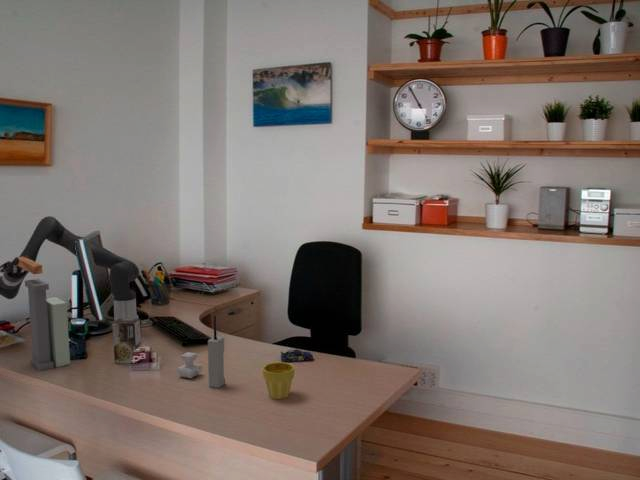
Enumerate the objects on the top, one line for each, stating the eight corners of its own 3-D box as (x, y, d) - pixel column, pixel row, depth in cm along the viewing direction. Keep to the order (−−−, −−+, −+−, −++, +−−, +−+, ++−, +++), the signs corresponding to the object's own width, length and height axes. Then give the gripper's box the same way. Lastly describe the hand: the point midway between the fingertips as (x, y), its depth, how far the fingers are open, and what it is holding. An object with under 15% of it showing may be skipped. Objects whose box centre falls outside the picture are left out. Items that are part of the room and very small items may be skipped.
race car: (314, 356, 245) (314, 345, 245) (319, 362, 239) (319, 350, 238) (277, 359, 241) (277, 348, 241) (281, 365, 235) (281, 354, 234)
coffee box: (143, 358, 241) (141, 318, 239) (136, 364, 235) (135, 323, 233) (120, 357, 242) (118, 318, 240) (113, 363, 236) (111, 322, 233)
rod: (23, 263, 245) (23, 256, 245) (42, 273, 227) (42, 265, 227) (15, 264, 243) (15, 257, 243) (34, 274, 225) (33, 266, 225)
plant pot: (282, 404, 198) (282, 374, 196) (257, 397, 203) (256, 368, 202) (300, 393, 207) (300, 365, 205) (275, 387, 212) (275, 359, 211)
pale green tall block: (59, 356, 244) (56, 297, 240) (70, 364, 235) (66, 302, 231) (46, 358, 241) (42, 299, 237) (56, 367, 232) (52, 304, 228)
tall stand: (43, 359, 240) (38, 279, 235) (53, 367, 231) (48, 284, 226) (30, 362, 237) (24, 280, 232) (39, 370, 228) (34, 286, 223)
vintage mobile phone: (225, 383, 215) (223, 314, 212) (218, 388, 211) (216, 317, 207) (215, 382, 217) (214, 313, 213) (208, 387, 212) (207, 316, 208)
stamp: (205, 375, 223) (204, 353, 222) (194, 381, 217) (193, 358, 216) (185, 371, 227) (185, 349, 226) (173, 377, 221) (173, 354, 220)
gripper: (-7, 268, 249) (1, 251, 237) (30, 263, 258) (39, 248, 246) (-4, 285, 247) (5, 269, 235) (33, 280, 256) (43, 265, 244)
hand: (22, 258), depth 240 cm, fingers closed on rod, 3 cm apart
